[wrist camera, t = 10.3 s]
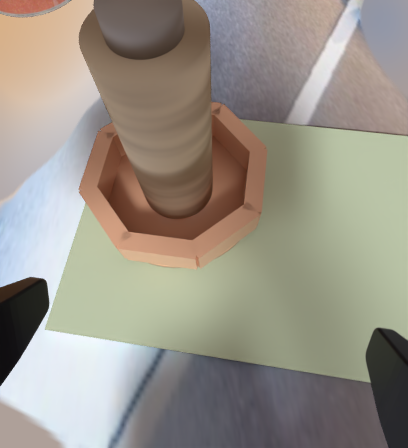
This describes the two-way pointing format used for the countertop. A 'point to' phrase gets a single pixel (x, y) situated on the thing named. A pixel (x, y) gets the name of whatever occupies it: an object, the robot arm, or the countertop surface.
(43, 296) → the robot arm
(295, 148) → the mat
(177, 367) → the countertop surface
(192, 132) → the pepper mill
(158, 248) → the octagonal ashtray
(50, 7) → the canned food
